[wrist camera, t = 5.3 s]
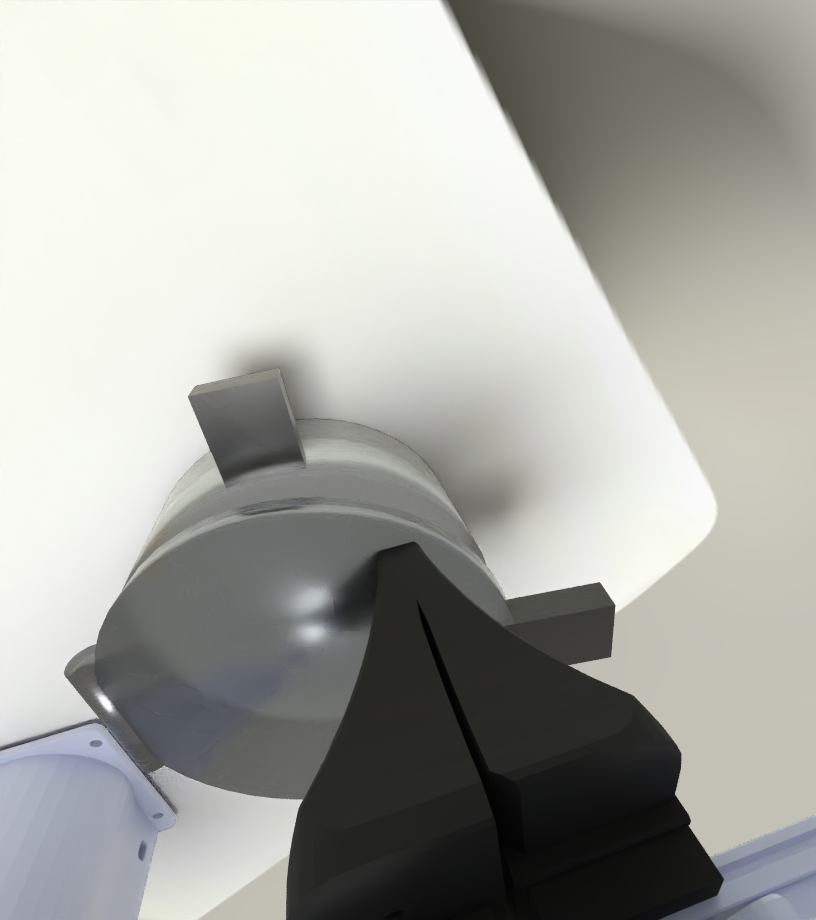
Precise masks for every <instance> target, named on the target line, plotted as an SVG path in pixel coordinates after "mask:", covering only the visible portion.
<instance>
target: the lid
mask: <svg viewBox="0 0 816 920" xmlns="http://www.w3.org/2000/svg"><path fill="white" fill-rule="evenodd" d="M413 541H414V542H416V543H418V544H419V546H420V547H421V549H422V550H423V551H424V553H425V554H426V555H427V556H428V558H429V559H430V560H431V561H432V562H433V563H434V565H435V566H436V567H437V568H438V569H439V570H440V571H441V572H442V573H443V574H444V575H445V576H446V577H447V578H448V579H449V580H450V581H451V582H452V583H453V584H454V585H455V586H456V587H457V588H458V589H459V590H460V591H461V592H462V593H463V594H464V595H466V596H467V597H468V598H469V599H470V600H471V601H473V602H474V603H475V604H476V605H477V606H478V607H480V608H481V609H482V610H483V611H485V612H486V613H487V614H488V615H490V616H491V617H492V618H493V619H495V620H496V621H498V622H499V623H500V624H502V625H503V626H504V627H506V628H507V629H509V630H510V631H512V632H513V633H515V634H516V635H518V636H519V637H521V638H522V639H524V640H525V641H527V642H528V643H530V644H532V645H533V646H535V647H537V648H538V649H540V650H542V651H544V652H545V653H547V654H549V655H550V656H552V657H554V658H556V659H557V660H559V661H561V662H563V663H564V664H566V665H571V664H577V663H582V662H587V661H593V660H598V659H603V658H608V657H611V650H612V638H613V627H614V615H615V604H614V602H613V601H612V600H611V598H610V597H609V595H608V594H607V592H606V591H605V589H604V588H603V586H602V585H601V583H600V582H598V583H593V584H588V585H583V586H577V587H572V588H567V589H561V590H556V591H551V592H546V593H540V594H535V595H530V596H524V597H519V598H514V599H508V600H506V599H505V596H504V593H503V591H502V589H501V587H500V585H499V584H498V582H497V580H496V579H495V577H494V575H493V573H492V572H491V571H490V570H489V568H488V567H487V566H486V565H485V564H484V562H483V561H482V560H481V559H480V558H479V556H478V555H476V554H475V553H474V552H473V551H472V550H471V549H470V548H468V547H467V546H466V545H465V544H464V543H463V542H461V541H460V540H459V539H457V538H456V537H454V536H453V535H451V534H450V533H448V532H446V531H445V530H443V529H442V528H440V527H439V526H436V525H434V524H432V523H430V522H428V521H426V520H424V519H422V518H419V517H417V516H415V515H413V514H410V513H407V512H403V511H400V510H397V509H394V508H391V507H388V506H384V505H380V504H375V503H370V502H365V501H360V500H353V499H342V498H331V497H298V498H287V499H279V500H271V501H263V502H259V503H255V504H251V505H247V506H243V507H239V508H234V509H231V510H228V511H226V512H223V513H220V514H218V515H215V516H212V517H210V518H207V519H204V520H202V521H200V522H199V523H197V524H195V525H193V526H191V527H189V528H187V529H185V530H184V531H182V532H180V533H178V534H177V535H175V536H174V537H173V538H171V539H170V540H168V541H167V542H166V543H164V544H163V545H162V546H160V547H159V548H157V549H156V550H155V551H154V552H153V553H152V554H151V555H150V556H149V557H148V558H147V559H146V560H145V561H144V562H143V563H142V564H141V565H140V566H139V567H138V569H137V570H136V572H135V573H134V575H133V576H132V577H131V579H130V580H129V582H128V583H127V584H126V586H125V587H124V589H123V590H122V592H121V593H120V595H119V596H118V598H117V599H116V601H115V602H114V604H113V606H112V607H111V609H110V610H109V612H108V614H107V616H106V618H105V620H104V622H103V625H102V627H101V629H100V631H99V635H98V640H97V644H96V645H92V646H90V647H88V648H86V649H84V650H82V651H81V652H79V653H78V654H77V655H76V656H74V657H73V658H72V659H71V660H70V662H69V663H68V664H67V666H66V668H65V670H64V675H65V676H66V678H67V679H68V680H69V681H70V683H71V684H72V685H73V686H74V688H75V689H76V690H77V691H78V693H79V694H80V695H81V696H82V697H83V699H84V700H85V701H86V702H87V704H88V705H89V706H90V707H91V709H92V710H93V711H94V712H95V714H96V715H97V716H98V717H99V718H100V720H101V721H102V722H103V723H104V725H105V726H106V727H107V728H108V730H109V731H110V732H111V733H112V734H113V736H114V737H115V738H116V739H117V741H118V742H119V743H120V744H121V746H122V747H123V748H124V749H125V751H126V752H127V753H128V754H129V755H130V757H131V758H132V759H133V760H134V762H135V763H136V764H137V765H138V767H139V768H140V769H141V770H142V771H143V772H153V771H155V770H157V769H159V768H161V767H162V766H163V765H165V766H167V767H169V768H171V769H173V770H175V771H177V772H179V773H181V774H182V775H184V776H187V777H189V778H192V779H194V780H197V781H200V782H202V783H205V784H208V785H211V786H214V787H218V788H221V789H225V790H228V791H233V792H238V793H243V794H247V795H254V796H261V797H269V798H282V799H304V797H305V795H306V794H307V792H308V790H309V788H310V786H311V784H312V782H313V780H314V778H315V776H316V774H317V772H318V771H319V769H320V767H321V765H322V763H323V761H324V759H325V757H326V755H327V752H328V750H329V748H330V746H331V743H332V741H333V739H334V737H335V734H336V732H337V730H338V727H339V725H340V723H341V721H342V718H343V716H344V714H345V711H346V709H347V706H348V703H349V701H350V698H351V695H352V692H353V689H354V686H355V684H356V681H357V678H358V675H359V672H360V668H361V665H362V662H363V658H364V655H365V651H366V647H367V643H368V639H369V634H370V630H371V625H372V620H373V615H374V609H375V602H376V594H377V585H378V559H377V554H378V553H379V551H381V550H384V549H388V548H392V547H395V546H399V545H403V544H406V543H410V542H413Z"/></svg>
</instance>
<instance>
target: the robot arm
mask: <svg viewBox="0 0 816 920" xmlns="http://www.w3.org/2000/svg"><path fill="white" fill-rule="evenodd" d="M377 559H378V585H377V594H376V602H375V609H374V615H373V620H372V625H371V630H370V634H369V639H368V643H367V647H366V651H365V655H364V658H363V662H362V665H361V668H360V672H359V675H358V678H357V681H356V684H355V686H354V689H353V692H352V695H351V698H350V701H349V703H348V706H347V709H346V711H345V714H344V716H343V718H342V721H341V723H340V725H339V727H338V730H337V732H336V734H335V737H334V739H333V741H332V743H331V746H330V748H329V750H328V752H327V755H326V757H325V759H324V761H323V763H322V765H321V767H320V769H319V771H318V772H317V774H316V776H315V778H314V780H313V782H312V784H311V786H310V788H309V790H308V792H307V794H306V795H305V797H304V799H303V801H302V803H301V805H300V807H299V810H298V814H297V818H296V823H295V828H294V833H293V838H292V844H291V850H290V857H289V865H288V876H287V900H286V904H287V905H286V920H816V815H813V816H811V817H808V818H806V819H803V820H801V821H798V822H796V823H793V824H791V825H789V826H786V827H783V828H781V829H778V830H776V831H773V832H771V833H768V834H766V835H763V836H761V837H758V838H756V839H754V840H751V841H748V842H746V843H743V844H741V845H739V846H736V847H733V848H731V849H728V850H726V851H723V852H721V853H719V854H716V855H714V856H711V857H709V856H708V854H707V853H706V851H705V850H704V848H703V847H702V845H701V844H700V842H699V841H698V839H697V838H696V836H695V835H694V834H693V832H692V830H691V829H690V827H689V826H688V825H690V822H691V820H690V817H689V815H688V813H687V812H686V810H685V809H684V807H683V806H682V804H681V803H680V801H679V800H678V798H677V797H676V796H675V791H676V787H677V783H678V779H679V774H680V770H681V752H680V750H679V749H678V747H677V745H676V744H675V742H674V741H673V740H672V738H671V737H670V736H669V734H668V733H667V732H666V730H665V729H664V728H663V727H662V725H661V724H660V723H659V722H658V721H657V720H656V719H655V718H654V717H653V716H652V715H651V713H650V712H649V711H648V710H647V709H646V708H645V707H644V706H643V705H642V704H641V703H640V702H639V701H638V700H637V699H636V698H635V697H634V696H633V695H631V694H628V693H626V692H624V691H622V690H619V689H617V688H615V687H612V686H610V685H608V684H606V683H603V682H601V681H599V680H596V679H594V678H592V677H590V676H588V675H586V674H584V673H582V672H580V671H578V670H576V669H574V668H572V667H570V666H568V665H566V664H564V663H563V662H561V661H559V660H557V659H556V658H554V657H552V656H550V655H549V654H547V653H545V652H544V651H542V650H540V649H538V648H537V647H535V646H533V645H532V644H530V643H528V642H527V641H525V640H524V639H522V638H521V637H519V636H518V635H516V634H515V633H513V632H512V631H510V630H509V629H507V628H506V627H504V626H503V625H502V624H500V623H499V622H498V621H496V620H495V619H493V618H492V617H491V616H490V615H488V614H487V613H486V612H485V611H483V610H482V609H481V608H480V607H478V606H477V605H476V604H475V603H474V602H473V601H471V600H470V599H469V598H468V597H467V596H466V595H464V594H463V593H462V592H461V591H460V590H459V589H458V588H457V587H456V586H455V585H454V584H453V583H452V582H451V581H450V580H449V579H448V578H447V577H446V576H445V575H444V574H443V573H442V572H441V571H440V570H439V569H438V568H437V567H436V566H435V565H434V563H433V562H432V561H431V560H430V559H429V558H428V556H427V555H426V554H425V553H424V551H423V550H422V549H421V547H420V546H419V544H418V543H416V542H414V541H413V542H410V543H406V544H403V545H399V546H395V547H392V548H388V549H384V550H381V551H379V553H378V554H377ZM175 821H176V814H175V813H174V812H173V810H172V809H171V808H170V807H169V806H168V804H167V803H166V802H165V801H164V799H163V798H162V797H161V796H160V794H159V793H158V792H157V791H156V790H155V788H154V787H153V786H152V785H151V783H150V782H149V781H148V780H147V779H146V777H145V776H144V775H143V774H142V772H141V771H140V770H139V769H138V767H137V766H136V765H135V764H134V763H133V761H132V760H131V759H130V758H129V756H128V755H127V754H126V753H125V751H124V750H123V749H122V748H121V747H120V745H119V744H118V743H117V742H116V740H115V739H114V738H113V737H112V736H111V734H110V733H109V732H108V731H107V729H106V728H105V727H104V726H103V725H101V724H96V723H93V724H88V725H85V726H82V727H78V728H75V729H72V730H68V731H65V732H62V733H58V734H55V735H52V736H48V737H45V738H42V739H38V740H35V741H32V742H28V743H25V744H22V745H18V746H15V747H12V748H8V749H5V750H2V751H0V920H137V919H138V915H139V911H140V907H141V902H142V898H143V894H144V889H145V885H146V881H147V877H148V872H149V868H150V864H151V860H152V855H153V851H154V847H155V842H156V838H157V834H158V832H159V831H162V830H165V829H168V828H170V827H172V826H173V825H174V824H175Z"/></svg>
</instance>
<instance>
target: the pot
mask: <svg viewBox="0 0 816 920" xmlns="http://www.w3.org/2000/svg"><path fill="white" fill-rule="evenodd" d="M188 398H189V400H190V403H191V405H192V407H193V410H194V412H195V415H196V417H197V419H198V422H199V424H200V427H201V429H202V431H203V434H204V436H205V439H206V441H207V443H208V446H209V448H210V452H208V453H207V454H206V455H205V456H203V457H202V458H201V459H200V460H199V461H197V462H196V463H195V464H194V465H193V466H192V467H191V468H190V469H189V470H188V471H187V472H186V473H185V474H184V476H183V477H182V478H181V479H180V480H179V482H178V483H177V485H176V486H175V488H174V489H173V491H172V492H171V493H170V495H169V497H168V499H167V501H166V503H165V505H164V507H163V509H162V511H161V513H160V515H159V517H158V519H157V521H156V523H155V525H154V527H153V529H152V531H151V533H150V535H149V537H148V539H147V541H146V543H145V545H144V547H143V549H142V551H141V553H140V555H139V557H138V559H137V561H136V563H135V565H134V567H133V569H132V571H131V573H130V575H129V577H128V579H127V581H126V584H127V583H128V582H129V580H130V579H131V577H132V576H133V575H134V573H135V572H136V570H137V569H138V567H139V566H140V565H141V564H142V563H143V562H144V561H145V560H146V559H147V558H148V557H149V556H150V555H151V554H152V553H153V552H154V551H155V550H156V549H157V548H159V547H160V546H162V545H163V544H164V543H166V542H167V541H168V540H170V539H171V538H173V537H174V536H175V535H177V534H178V533H180V532H182V531H184V530H185V529H187V528H189V527H191V526H193V525H195V524H197V523H199V522H200V521H202V520H204V519H207V518H210V517H212V516H215V515H218V514H220V513H223V512H226V511H228V510H231V509H234V508H239V507H243V506H247V505H251V504H255V503H259V502H263V501H271V500H279V499H287V498H298V497H331V498H342V499H353V500H360V501H365V502H370V503H375V504H380V505H384V506H388V507H391V508H394V509H397V510H400V511H403V512H407V513H410V514H413V515H415V516H417V517H419V518H422V519H424V520H426V521H428V522H430V523H432V524H434V525H436V526H439V527H440V528H442V529H443V530H445V531H446V532H448V533H450V534H451V535H453V536H454V537H456V538H457V539H459V540H460V541H461V542H463V543H464V544H465V545H466V546H467V547H468V548H470V549H471V550H472V551H473V552H474V553H475V554H476V555H478V556H479V558H480V559H481V560H482V561H483V562H484V564H485V565H486V563H485V560H484V558H483V555H482V553H481V551H480V549H479V548H478V546H477V544H476V542H475V541H474V539H473V537H472V536H471V534H470V532H469V531H468V529H467V527H466V526H465V524H464V522H463V521H462V519H461V517H460V516H459V514H458V512H457V511H456V509H455V507H454V505H453V504H452V502H451V500H450V499H449V497H448V495H447V494H446V492H445V490H444V489H443V487H442V485H441V484H440V482H439V480H438V479H437V477H436V475H435V474H434V473H433V471H432V470H431V469H430V468H429V467H428V465H427V464H426V463H425V462H424V461H423V460H422V459H421V458H420V457H419V456H418V455H417V454H416V453H414V452H413V451H412V450H411V449H410V448H408V447H407V446H405V445H404V444H402V443H401V442H399V441H398V440H396V439H394V438H392V437H390V436H388V435H386V434H384V433H382V432H380V431H377V430H374V429H371V428H368V427H365V426H362V425H359V424H355V423H349V422H344V421H339V420H327V419H301V420H295V419H294V415H293V412H292V409H291V406H290V402H289V399H288V396H287V393H286V389H285V386H284V383H283V379H282V376H281V373H280V370H279V368H275V369H271V370H266V371H262V372H257V373H252V374H248V375H243V376H239V377H234V378H229V379H225V380H220V381H216V382H211V383H206V384H202V385H197V386H195V387H194V389H193V390H192V391H191V393H190V394H189V396H188ZM126 584H125V586H126ZM125 586H124V587H125ZM123 589H124V588H123Z"/></svg>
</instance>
